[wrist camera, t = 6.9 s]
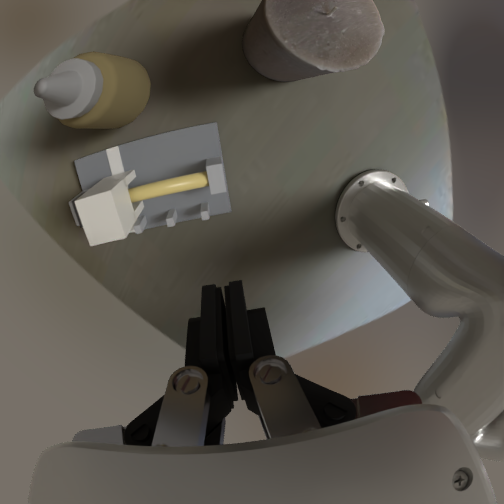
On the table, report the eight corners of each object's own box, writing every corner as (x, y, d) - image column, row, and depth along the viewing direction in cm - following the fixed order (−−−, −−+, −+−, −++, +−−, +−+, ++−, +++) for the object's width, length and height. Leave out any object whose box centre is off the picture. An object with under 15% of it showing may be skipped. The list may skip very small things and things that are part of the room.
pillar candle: (237, 14, 23) (256, -44, 10) (317, 13, 23) (381, -28, 10) (247, 86, 28) (276, 71, 15) (327, 82, 28) (401, 76, 15)
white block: (134, 169, 29) (110, 190, 21) (144, 207, 31) (125, 238, 24) (103, 178, 28) (74, 201, 21) (114, 214, 31) (90, 246, 23)
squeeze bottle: (113, 139, 28) (29, 178, 13) (83, 90, 24) (-15, 91, 9) (169, 101, 27) (122, 92, 12) (137, 49, 23) (69, 2, 8)
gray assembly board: (216, 122, 29) (217, 124, 24) (231, 208, 35) (235, 228, 29) (77, 159, 28) (54, 170, 23) (101, 236, 34) (85, 259, 28)
